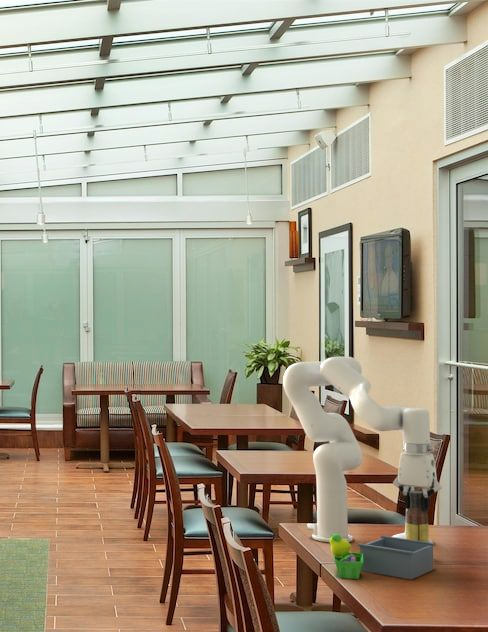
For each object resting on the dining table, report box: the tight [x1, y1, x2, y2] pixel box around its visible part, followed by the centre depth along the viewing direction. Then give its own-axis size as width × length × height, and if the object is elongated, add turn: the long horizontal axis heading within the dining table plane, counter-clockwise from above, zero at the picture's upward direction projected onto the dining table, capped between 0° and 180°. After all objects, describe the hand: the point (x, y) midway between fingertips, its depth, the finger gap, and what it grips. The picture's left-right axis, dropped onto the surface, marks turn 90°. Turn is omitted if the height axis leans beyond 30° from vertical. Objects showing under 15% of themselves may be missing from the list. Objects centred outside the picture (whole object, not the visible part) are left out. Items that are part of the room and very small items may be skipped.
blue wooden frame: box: [357, 534, 436, 580], centre depth 275 cm, size 15×16×8 cm
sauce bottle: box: [405, 490, 430, 542], centre depth 290 cm, size 7×6×20 cm
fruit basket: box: [329, 534, 363, 580], centre depth 270 cm, size 11×9×11 cm
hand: (417, 508), depth 291 cm, fingers closed on sauce bottle, 4 cm apart
